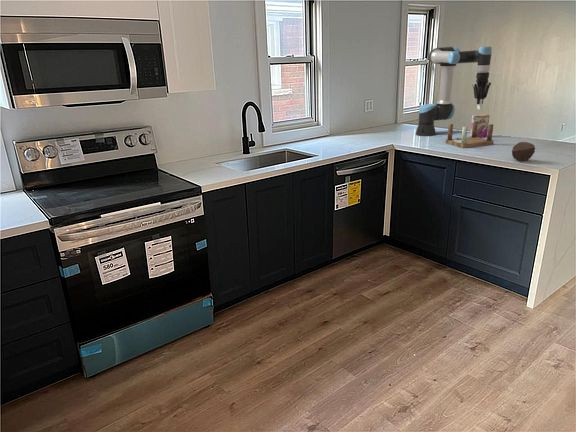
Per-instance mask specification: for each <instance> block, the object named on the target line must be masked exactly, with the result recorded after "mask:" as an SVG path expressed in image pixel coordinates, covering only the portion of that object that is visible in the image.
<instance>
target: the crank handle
mask: <svg viewBox="0 0 576 432" xmlns="http://www.w3.org/2000/svg"><path fill="white" fill-rule="evenodd" d="M466 137H468V126H462V129H461V138H462V140H459V138H460V137H454V139H455V140H454V142H458V143H461V144H466Z"/></svg>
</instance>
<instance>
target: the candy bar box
mask: <svg viewBox="0 0 576 432" xmlns="http://www.w3.org/2000/svg"><path fill="white" fill-rule="evenodd" d="M489 120H490V115H489V114H472V116H471V122H470V131H469V132H470V133H469V137H472V128H473V122H474V121H477V122H478V124H477V134H476V137H479V138H487V134H488V125H489V124H490V123H489Z"/></svg>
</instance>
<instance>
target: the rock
mask: <svg viewBox="0 0 576 432" xmlns="http://www.w3.org/2000/svg"><path fill="white" fill-rule="evenodd" d="M535 150H536V147H535V144H533V143H531V142H527V141H520V142H518V143H516V144H514V146H513V147H512V150H511V155H512V158H513V159H514V160H515V161H517V162H522V161H527V162H528V161H529V160H530V159H531V158H532V157H533V155H534V154H535V152H536V151H535Z"/></svg>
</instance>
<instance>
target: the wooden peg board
mask: <svg viewBox="0 0 576 432" xmlns="http://www.w3.org/2000/svg"><path fill="white" fill-rule="evenodd" d="M477 124H478V122H477V121H474V122H473V128H472V137H470V136H467V137H466V144H461V143H458V142H454V140H455V138H453V132H454V123H449V124H448V125H447V126H448V127H447V139H445V143H444V144H447V145H450V146H454V147H457V148H461V149H468V148H476V147H483V146H493V145H494V140H493V132H494V124H491V123H488V131H487V137H486V138H484V137H476V134H477ZM458 138H459V140H462V137H458Z"/></svg>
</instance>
